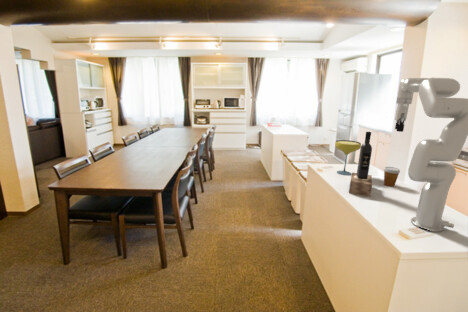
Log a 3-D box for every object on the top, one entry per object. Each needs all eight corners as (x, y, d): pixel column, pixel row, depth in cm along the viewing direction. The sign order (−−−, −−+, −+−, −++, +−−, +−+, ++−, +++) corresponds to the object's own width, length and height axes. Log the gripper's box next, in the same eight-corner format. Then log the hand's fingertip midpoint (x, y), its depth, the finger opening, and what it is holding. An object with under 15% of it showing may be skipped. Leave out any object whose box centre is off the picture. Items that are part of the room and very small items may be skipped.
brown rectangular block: (369, 186, 170) (371, 174, 167) (370, 196, 152) (372, 184, 150) (350, 183, 175) (352, 172, 173) (348, 193, 158) (350, 180, 156)
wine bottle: (367, 179, 158) (375, 132, 151) (358, 178, 159) (365, 132, 152) (365, 176, 163) (372, 131, 156) (355, 175, 165) (362, 131, 157)
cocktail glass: (360, 177, 188) (365, 144, 182) (336, 176, 189) (340, 144, 183) (350, 169, 206) (354, 140, 200) (328, 169, 206) (332, 139, 200)
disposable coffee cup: (394, 183, 176) (397, 167, 173) (399, 188, 167) (402, 171, 164) (379, 182, 179) (382, 166, 176) (383, 186, 170) (386, 169, 167)
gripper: (395, 100, 154) (390, 128, 158) (398, 101, 139) (392, 131, 143) (409, 101, 151) (404, 129, 155) (414, 101, 136) (408, 132, 140)
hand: (398, 130), depth 149 cm, fingers open, 9 cm apart
